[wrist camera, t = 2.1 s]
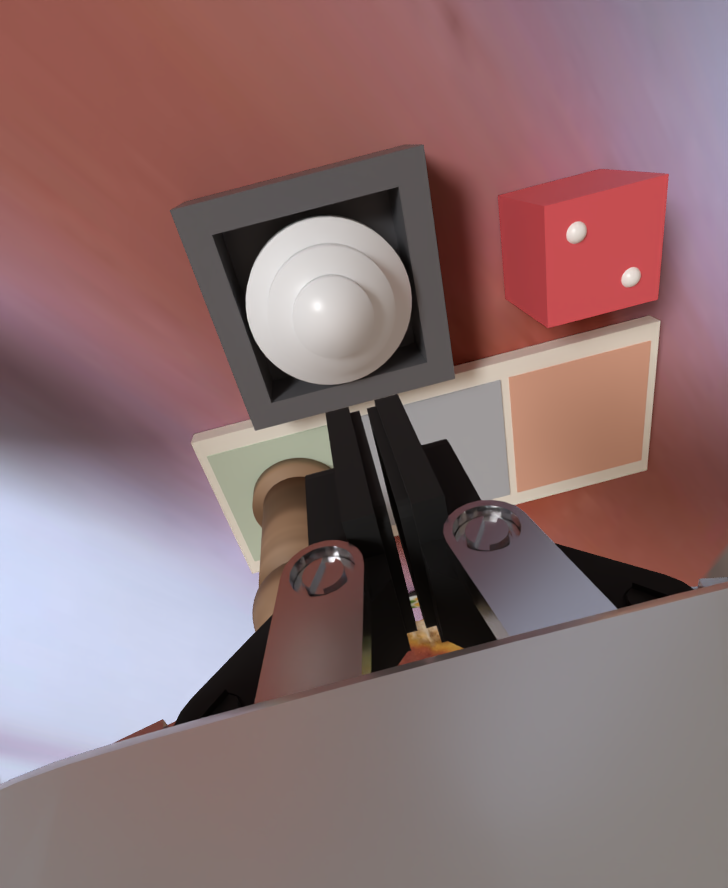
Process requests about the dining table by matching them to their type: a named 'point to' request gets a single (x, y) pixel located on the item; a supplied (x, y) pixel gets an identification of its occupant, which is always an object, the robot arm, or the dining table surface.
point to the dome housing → (296, 197)
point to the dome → (328, 300)
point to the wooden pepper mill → (280, 525)
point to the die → (583, 244)
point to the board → (482, 425)
